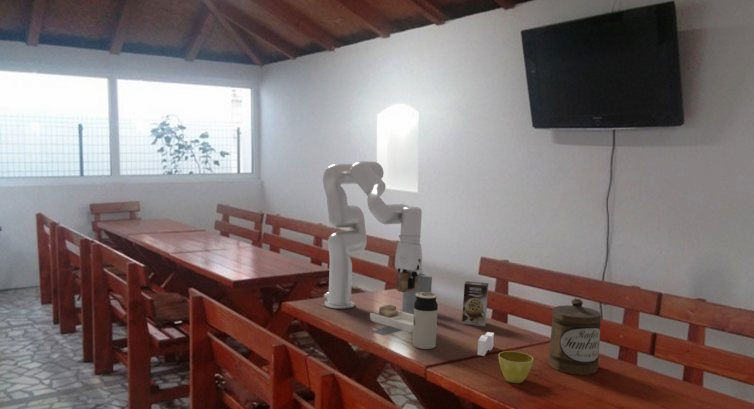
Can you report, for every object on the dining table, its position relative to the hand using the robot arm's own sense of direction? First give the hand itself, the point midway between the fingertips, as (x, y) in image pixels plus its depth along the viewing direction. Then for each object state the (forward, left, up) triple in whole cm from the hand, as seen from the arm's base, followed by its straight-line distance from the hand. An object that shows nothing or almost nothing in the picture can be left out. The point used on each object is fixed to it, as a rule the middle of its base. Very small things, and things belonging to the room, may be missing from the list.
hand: (407, 287), depth 236 cm
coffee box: (+15, +24, -15) cm, 32 cm away
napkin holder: (+37, -1, -16) cm, 41 cm away
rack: (-2, 0, -15) cm, 15 cm away
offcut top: (-10, 0, -12) cm, 16 cm away
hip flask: (-7, +14, -15) cm, 22 cm away
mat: (+1, -12, -15) cm, 19 cm away
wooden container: (+65, +7, -15) cm, 67 cm away
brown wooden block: (0, 0, -1) cm, 1 cm away
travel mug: (+21, -14, -15) cm, 29 cm away
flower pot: (+59, -18, -15) cm, 63 cm away
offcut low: (-10, 0, -15) cm, 18 cm away
